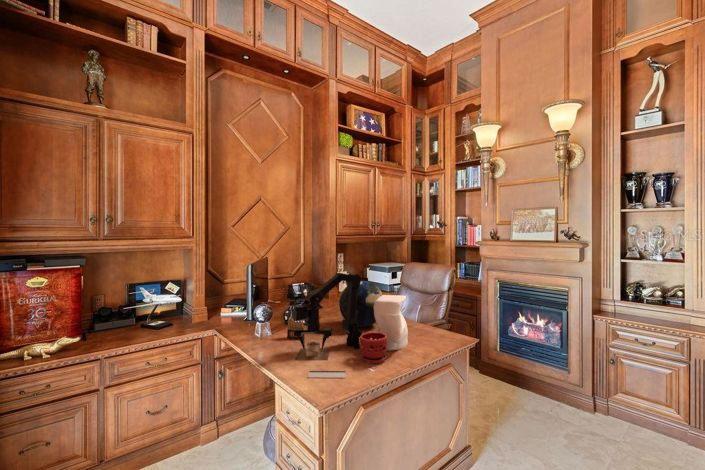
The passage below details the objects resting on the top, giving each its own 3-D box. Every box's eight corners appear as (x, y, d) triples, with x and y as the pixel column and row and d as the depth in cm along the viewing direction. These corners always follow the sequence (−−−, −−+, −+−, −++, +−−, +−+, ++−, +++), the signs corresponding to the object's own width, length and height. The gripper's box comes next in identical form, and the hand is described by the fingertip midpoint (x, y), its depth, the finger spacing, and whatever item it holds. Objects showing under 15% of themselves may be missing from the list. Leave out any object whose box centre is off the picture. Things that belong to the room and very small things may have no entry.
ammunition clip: (287, 337, 193) (287, 317, 193) (288, 337, 195) (288, 316, 195) (303, 340, 190) (302, 319, 189) (304, 339, 191) (304, 318, 191)
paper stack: (413, 340, 188) (413, 295, 187) (400, 357, 163) (400, 305, 163) (378, 336, 196) (378, 293, 196) (361, 351, 171) (361, 302, 171)
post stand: (330, 350, 173) (330, 337, 173) (327, 362, 157) (327, 348, 157) (300, 350, 173) (300, 337, 173) (294, 362, 157) (294, 348, 157)
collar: (319, 351, 168) (319, 342, 168) (318, 356, 162) (318, 346, 162) (308, 351, 168) (308, 342, 168) (306, 356, 162) (306, 346, 162)
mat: (346, 364, 154) (346, 364, 154) (345, 378, 140) (345, 377, 140) (312, 364, 154) (312, 363, 154) (307, 378, 140) (307, 377, 140)
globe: (332, 323, 224) (332, 279, 224) (371, 318, 237) (371, 276, 236) (350, 335, 197) (350, 285, 196) (393, 329, 209) (393, 282, 209)
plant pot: (383, 354, 167) (383, 330, 167) (390, 364, 154) (390, 339, 154) (357, 355, 165) (357, 332, 165) (362, 366, 152) (362, 340, 152)
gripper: (333, 314, 173) (333, 343, 173) (297, 314, 173) (297, 343, 173) (331, 319, 162) (331, 351, 162) (293, 319, 162) (293, 351, 162)
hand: (313, 349), depth 165 cm, fingers open, 9 cm apart
